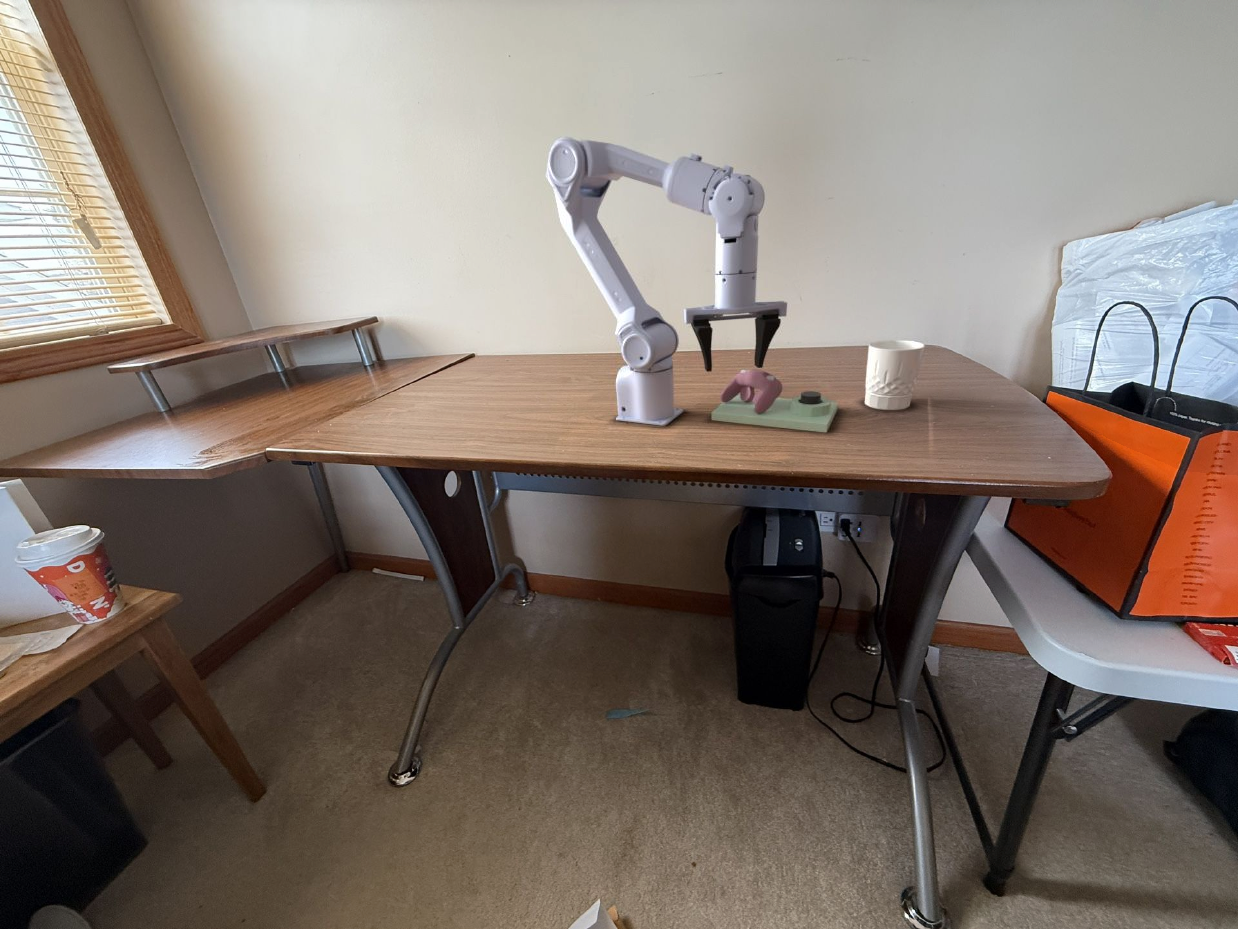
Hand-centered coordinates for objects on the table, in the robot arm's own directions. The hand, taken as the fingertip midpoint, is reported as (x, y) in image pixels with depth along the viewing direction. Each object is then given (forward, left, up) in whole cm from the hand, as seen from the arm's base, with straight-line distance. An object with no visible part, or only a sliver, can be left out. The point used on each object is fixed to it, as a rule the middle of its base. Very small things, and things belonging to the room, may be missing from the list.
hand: (733, 368), depth 73 cm
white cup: (+21, +18, -10) cm, 29 cm away
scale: (+5, +7, -9) cm, 13 cm away
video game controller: (+1, +7, -8) cm, 11 cm away
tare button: (+11, +7, -7) cm, 14 cm away
